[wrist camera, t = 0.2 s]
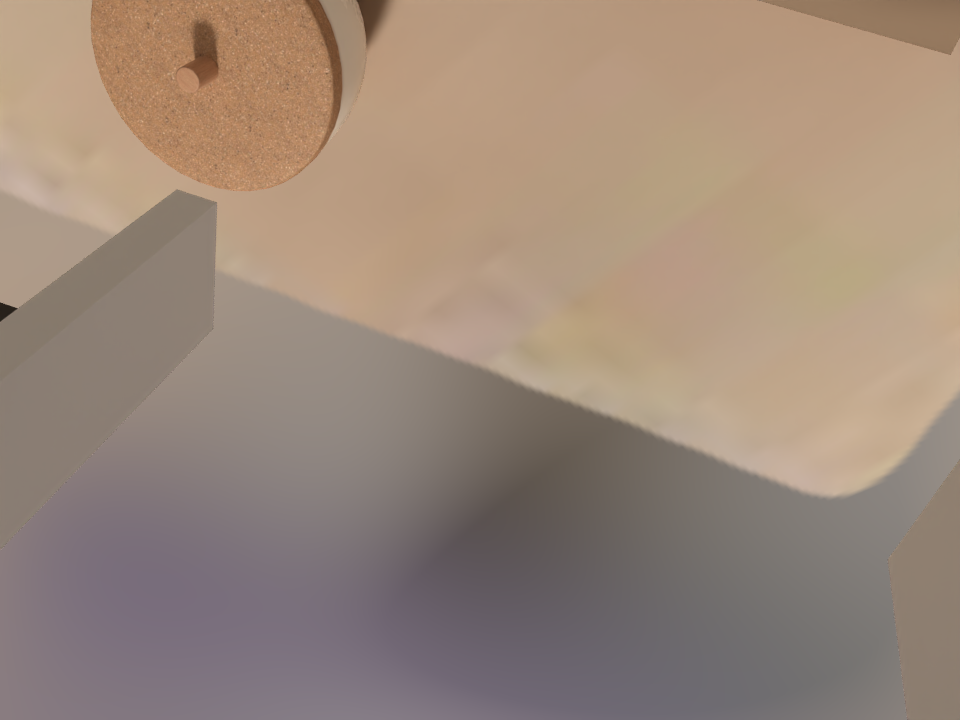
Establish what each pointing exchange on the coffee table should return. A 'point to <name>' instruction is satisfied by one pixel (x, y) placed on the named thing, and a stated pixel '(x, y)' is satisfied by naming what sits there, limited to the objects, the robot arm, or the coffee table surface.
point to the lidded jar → (231, 81)
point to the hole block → (891, 18)
